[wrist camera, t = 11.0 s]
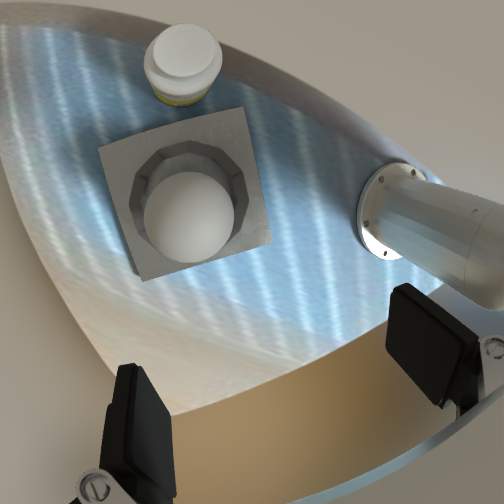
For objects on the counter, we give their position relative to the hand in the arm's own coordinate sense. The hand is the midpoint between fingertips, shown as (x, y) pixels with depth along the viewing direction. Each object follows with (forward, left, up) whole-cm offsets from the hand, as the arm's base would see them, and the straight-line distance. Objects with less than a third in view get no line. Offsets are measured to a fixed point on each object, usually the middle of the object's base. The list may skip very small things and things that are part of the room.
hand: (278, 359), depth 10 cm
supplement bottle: (-1, -14, -21) cm, 25 cm away
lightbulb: (+2, -3, -20) cm, 21 cm away
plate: (+1, -3, -21) cm, 21 cm away
